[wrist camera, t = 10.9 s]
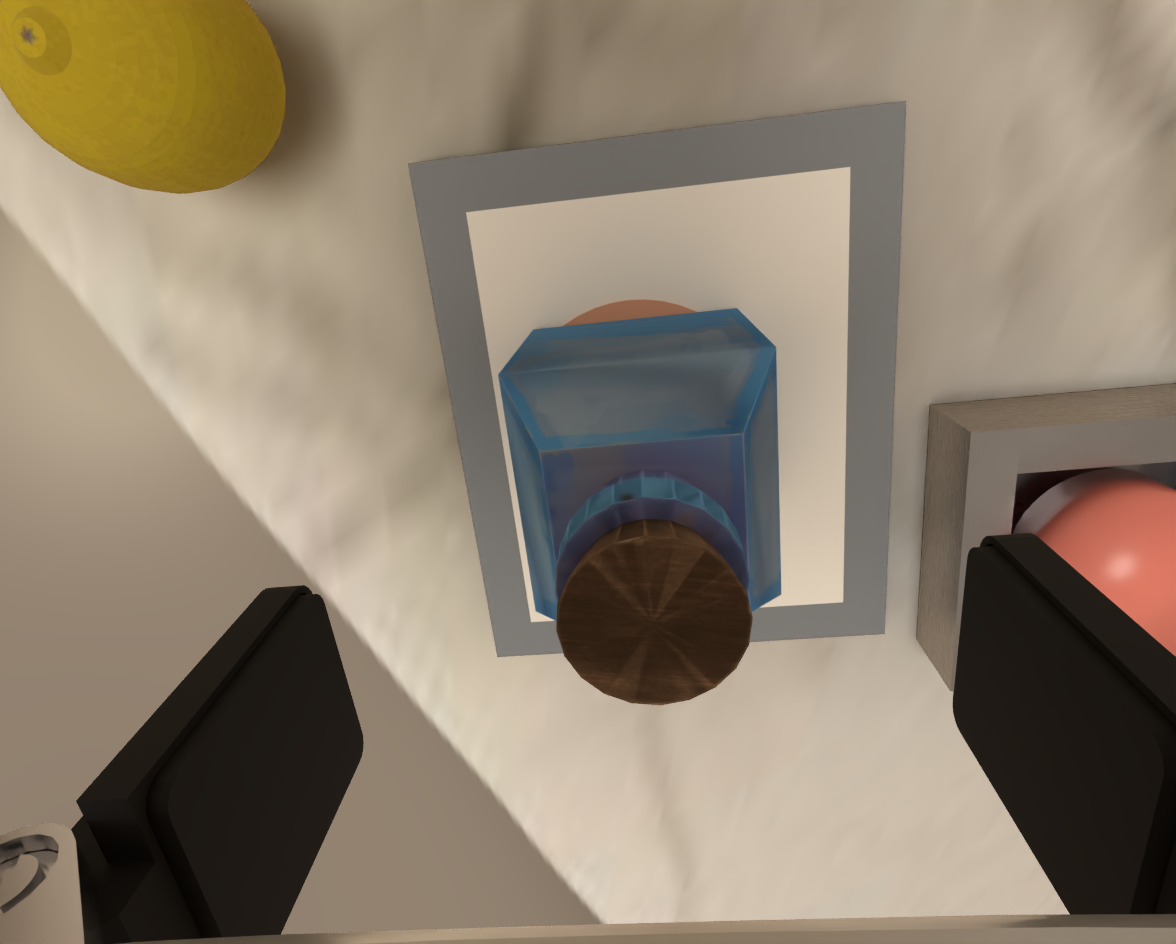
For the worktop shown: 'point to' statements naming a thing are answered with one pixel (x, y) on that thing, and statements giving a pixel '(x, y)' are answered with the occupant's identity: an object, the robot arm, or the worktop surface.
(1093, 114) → the worktop surface
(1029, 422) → the button base
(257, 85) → the lemon
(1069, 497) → the button
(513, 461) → the perfume bottle
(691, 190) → the board
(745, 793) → the worktop surface
